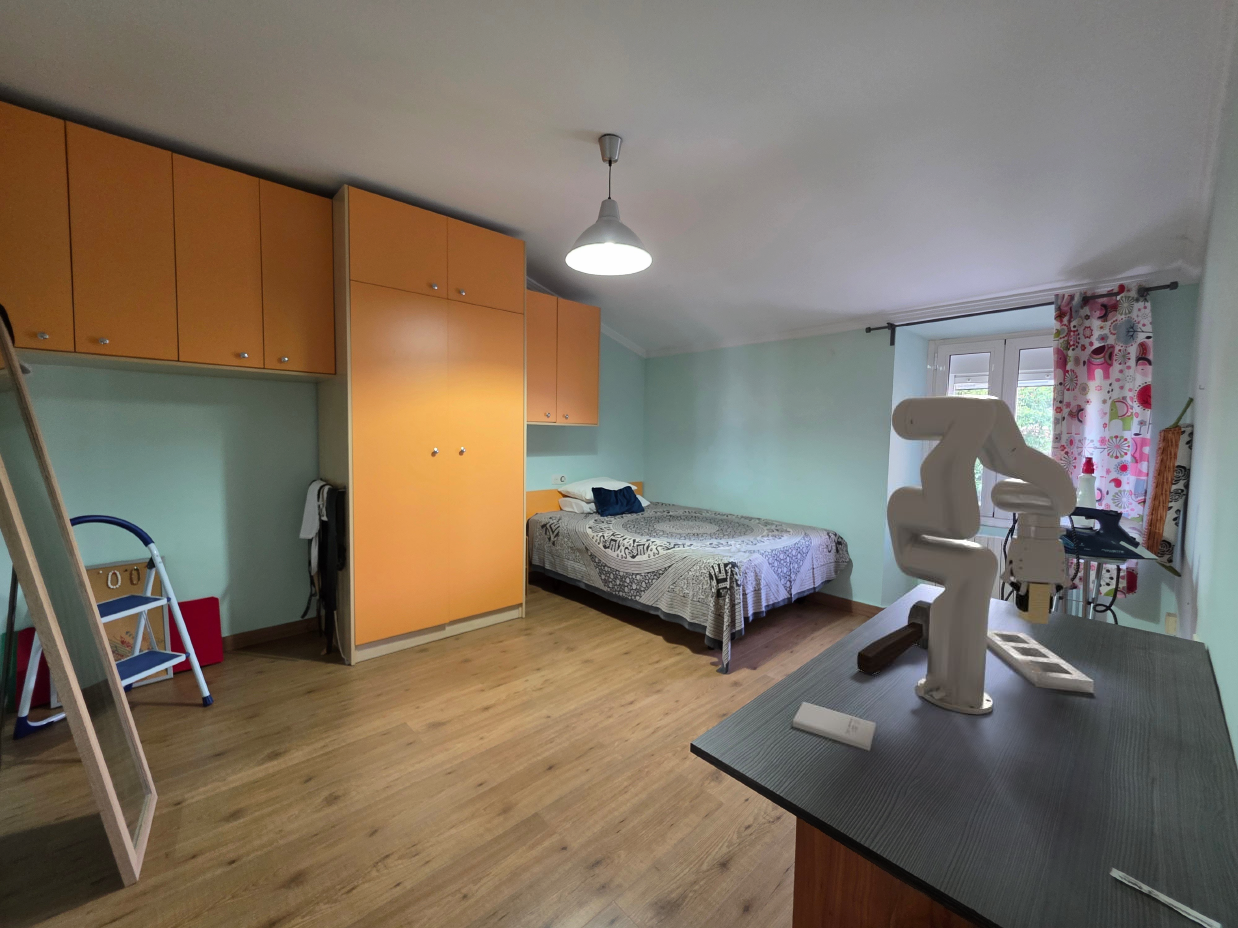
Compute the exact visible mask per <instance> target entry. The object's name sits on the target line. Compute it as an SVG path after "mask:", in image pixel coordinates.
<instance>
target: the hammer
mask: <svg viewBox="0 0 1238 928" xmlns="http://www.w3.org/2000/svg"><path fill="white" fill-rule="evenodd" d="M931 604H932V602H929V601H925V600H921V599H919V600H917V601H916V602H914V603H913V604H912V606H910V608H909V612H908V616H907V624H905V625H904V626H902V627H900V628H898V629H897V630H894V631H892V632H890V633H888V634H886V635H884V636H882V637H880V638H878V639H876V640H874V641H872V642H871V643H870V644H868V645H867V646H865V647H863V649H861V650H860V651H858V653H857V656H856V658H857V659H856V665H857V670H858V669H860V670H862V671H864V672H866V673H868V674H870V675H869V676H871V675H872V674H874V673H876V672H878V671H880V672H882V671H883V670H884V669H886V668H888V667H889V666H890V665H891V664H892V663H893V662H895V661H896V660H897V659H898V658H899V657H901V656H902V655H903V654H904V653H905V652H906V651H908V650H909V649H910V648H911V647H912V646H913V645H915V644H917V645H916V646H918V645H920V646H919V647H921V646H922V647H921V648H924V647H925V649H927V650H928V642H929V624H930V608H931ZM864 672H863V673H864ZM866 673H865V674H866ZM878 673H879V672H878ZM868 674H867V675H868ZM876 674H877V673H876ZM874 675H875V674H874ZM872 676H873V675H872Z"/></svg>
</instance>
